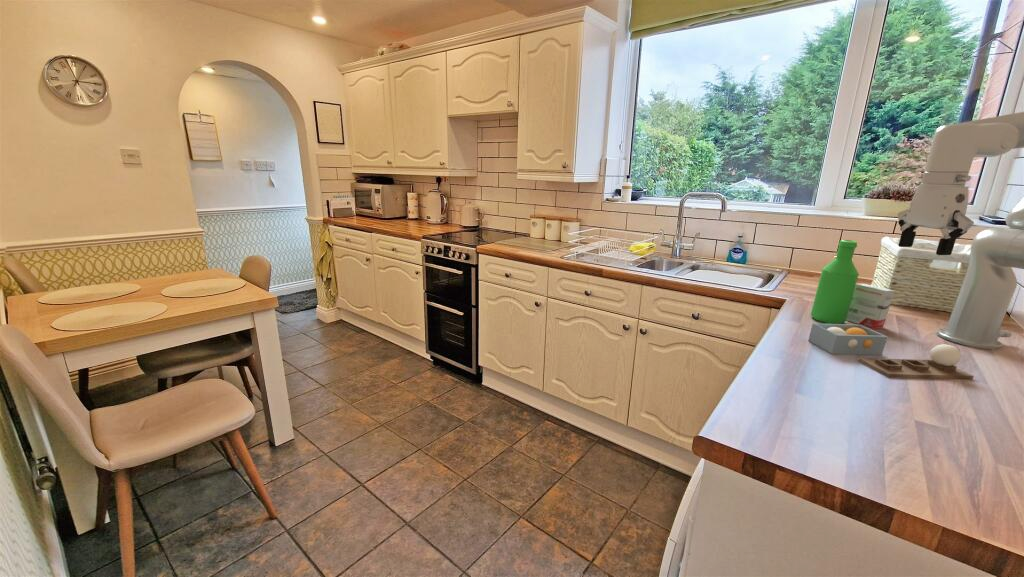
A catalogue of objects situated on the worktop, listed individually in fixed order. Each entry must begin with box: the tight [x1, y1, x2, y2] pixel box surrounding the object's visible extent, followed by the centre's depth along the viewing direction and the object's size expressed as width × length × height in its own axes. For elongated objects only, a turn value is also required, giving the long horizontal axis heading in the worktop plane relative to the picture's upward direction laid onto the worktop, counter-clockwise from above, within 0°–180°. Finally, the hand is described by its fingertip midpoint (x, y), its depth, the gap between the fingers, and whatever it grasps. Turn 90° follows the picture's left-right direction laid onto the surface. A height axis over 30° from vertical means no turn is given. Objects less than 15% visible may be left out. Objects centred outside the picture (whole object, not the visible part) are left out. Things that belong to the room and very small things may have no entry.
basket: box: [870, 236, 971, 314], centre depth 150 cm, size 27×27×22 cm
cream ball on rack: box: [929, 343, 962, 366], centre depth 96 cm, size 5×5×5 cm
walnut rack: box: [858, 357, 974, 380], centre depth 97 cm, size 20×8×2 cm, turn 92°
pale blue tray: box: [807, 322, 889, 356], centre depth 108 cm, size 13×8×5 cm, turn 92°
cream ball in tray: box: [827, 327, 847, 335], centre depth 107 cm, size 5×5×5 cm
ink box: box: [846, 283, 894, 330], centre depth 126 cm, size 8×5×12 cm, turn 26°
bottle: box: [810, 239, 860, 324], centre depth 125 cm, size 9×9×25 cm
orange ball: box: [845, 327, 868, 335], centre depth 108 cm, size 5×5×5 cm
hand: (923, 250), depth 103 cm, fingers open, 9 cm apart
